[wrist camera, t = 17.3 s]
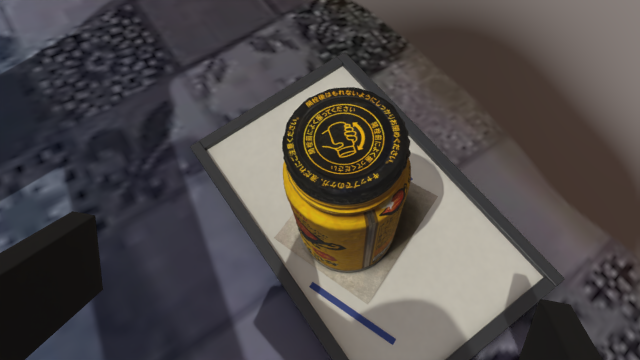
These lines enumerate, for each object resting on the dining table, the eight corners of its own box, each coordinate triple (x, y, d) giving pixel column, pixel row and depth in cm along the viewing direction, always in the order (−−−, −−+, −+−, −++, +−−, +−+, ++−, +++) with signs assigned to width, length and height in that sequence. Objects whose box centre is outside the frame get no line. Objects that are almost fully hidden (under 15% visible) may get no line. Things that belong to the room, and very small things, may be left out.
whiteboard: (194, 152, 32) (189, 146, 31) (344, 59, 34) (344, 51, 33) (380, 432, 24) (382, 434, 23) (558, 281, 26) (565, 278, 25)
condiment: (274, 239, 28) (226, 154, 17) (346, 144, 30) (346, 18, 19) (367, 305, 26) (381, 258, 15) (437, 198, 28) (493, 90, 17)
